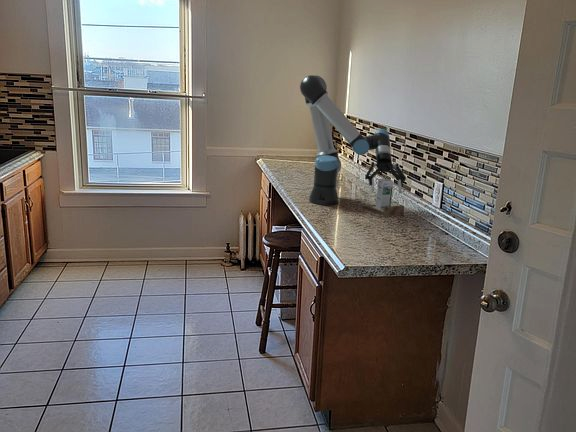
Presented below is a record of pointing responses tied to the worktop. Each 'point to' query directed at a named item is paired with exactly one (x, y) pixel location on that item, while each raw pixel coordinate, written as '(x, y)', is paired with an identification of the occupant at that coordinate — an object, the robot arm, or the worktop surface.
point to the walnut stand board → (386, 210)
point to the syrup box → (384, 193)
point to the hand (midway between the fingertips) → (386, 191)
